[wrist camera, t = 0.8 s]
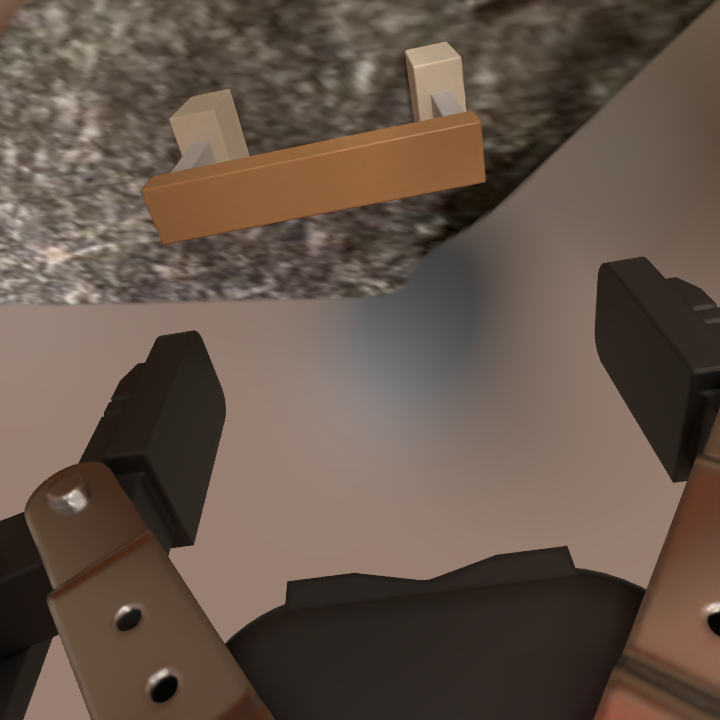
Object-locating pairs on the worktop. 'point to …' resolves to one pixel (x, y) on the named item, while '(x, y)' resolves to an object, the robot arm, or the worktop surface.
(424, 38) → the worktop surface
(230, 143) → the brown blocky piece
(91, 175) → the worktop surface
